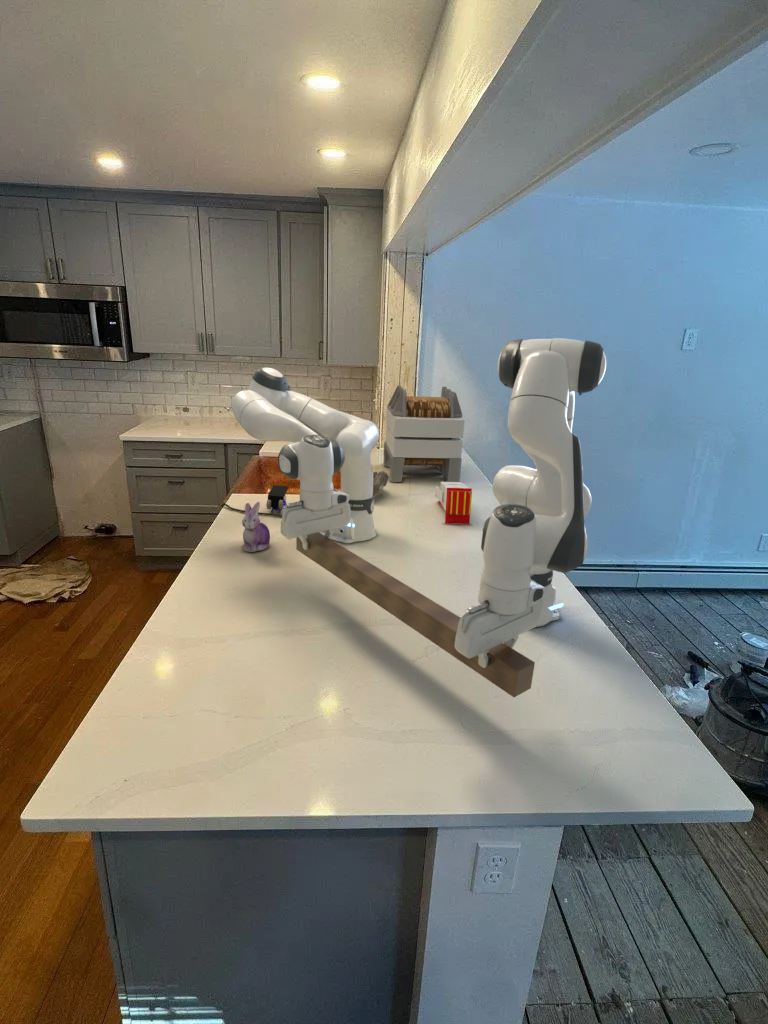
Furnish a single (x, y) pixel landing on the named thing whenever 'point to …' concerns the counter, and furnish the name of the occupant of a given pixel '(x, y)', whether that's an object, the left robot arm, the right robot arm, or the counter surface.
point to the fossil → (379, 482)
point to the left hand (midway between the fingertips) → (316, 546)
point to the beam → (417, 612)
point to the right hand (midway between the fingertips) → (495, 659)
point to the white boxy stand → (424, 433)
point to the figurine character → (277, 498)
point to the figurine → (254, 530)
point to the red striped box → (455, 502)
